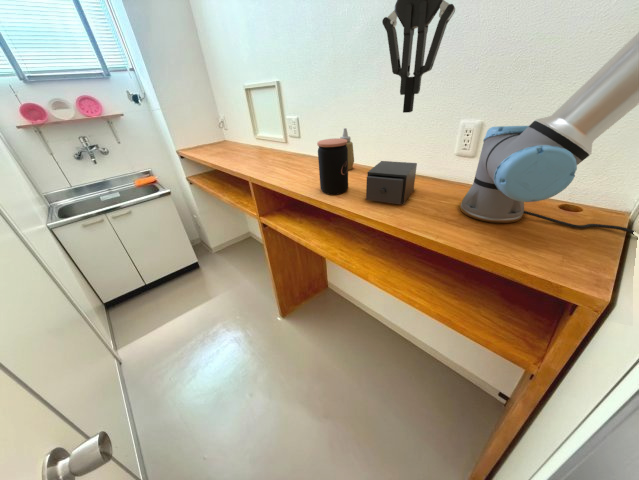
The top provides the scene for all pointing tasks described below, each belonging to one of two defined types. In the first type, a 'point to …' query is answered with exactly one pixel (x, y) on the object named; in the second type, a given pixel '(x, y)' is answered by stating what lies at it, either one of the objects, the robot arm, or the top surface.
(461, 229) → the top surface
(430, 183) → the top surface
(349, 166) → the squeeze bottle
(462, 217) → the top surface
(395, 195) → the drawer
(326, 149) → the coffee jar
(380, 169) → the cabinet
